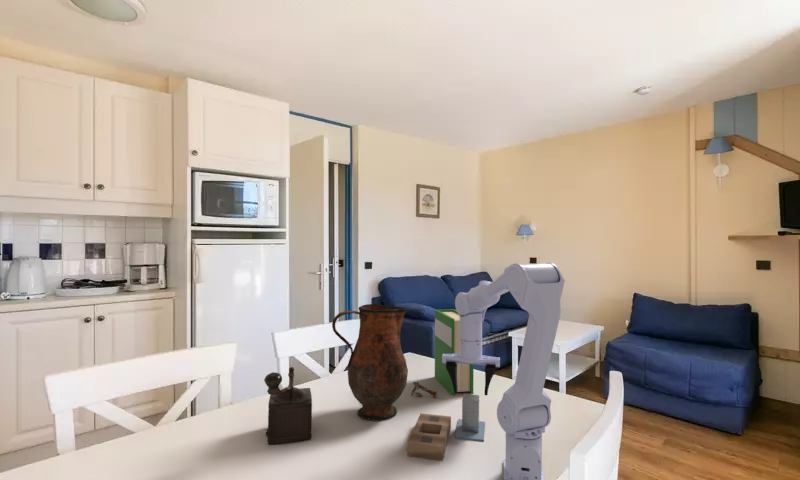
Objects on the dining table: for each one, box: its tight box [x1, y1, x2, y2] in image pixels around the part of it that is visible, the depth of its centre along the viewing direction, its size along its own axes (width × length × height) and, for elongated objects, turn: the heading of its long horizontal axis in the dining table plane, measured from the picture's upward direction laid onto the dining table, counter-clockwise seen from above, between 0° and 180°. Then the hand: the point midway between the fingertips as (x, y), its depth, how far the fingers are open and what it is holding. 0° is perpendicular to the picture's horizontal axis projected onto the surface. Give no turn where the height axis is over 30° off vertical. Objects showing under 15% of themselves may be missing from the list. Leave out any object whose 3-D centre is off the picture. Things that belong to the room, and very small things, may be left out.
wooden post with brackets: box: [410, 381, 438, 399], centre depth 125 cm, size 2×8×4 cm, turn 84°
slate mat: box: [454, 418, 486, 442], centre depth 103 cm, size 10×7×1 cm
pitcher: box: [331, 303, 409, 422], centre depth 112 cm, size 17×21×30 cm
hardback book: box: [434, 308, 475, 396], centre depth 136 cm, size 18×7×24 cm, turn 12°
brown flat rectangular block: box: [406, 412, 452, 462], centre depth 97 cm, size 16×8×3 cm, turn 166°
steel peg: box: [461, 393, 480, 433], centre depth 103 cm, size 4×4×8 cm
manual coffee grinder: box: [263, 366, 313, 445], centre depth 99 cm, size 16×11×18 cm
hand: (470, 392), depth 103 cm, fingers open, 7 cm apart
